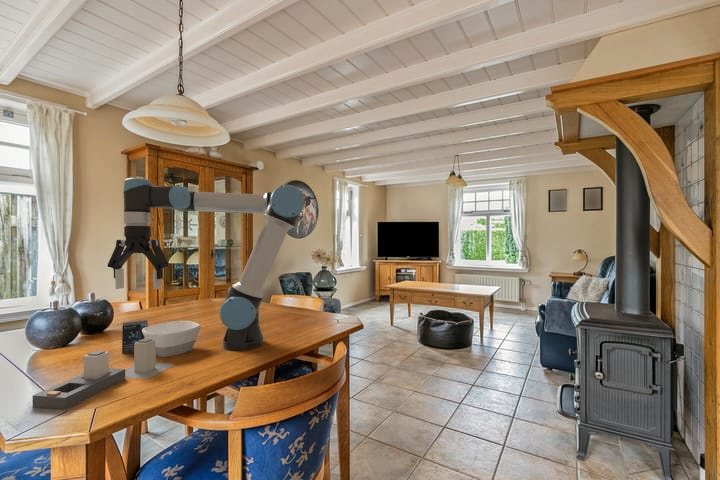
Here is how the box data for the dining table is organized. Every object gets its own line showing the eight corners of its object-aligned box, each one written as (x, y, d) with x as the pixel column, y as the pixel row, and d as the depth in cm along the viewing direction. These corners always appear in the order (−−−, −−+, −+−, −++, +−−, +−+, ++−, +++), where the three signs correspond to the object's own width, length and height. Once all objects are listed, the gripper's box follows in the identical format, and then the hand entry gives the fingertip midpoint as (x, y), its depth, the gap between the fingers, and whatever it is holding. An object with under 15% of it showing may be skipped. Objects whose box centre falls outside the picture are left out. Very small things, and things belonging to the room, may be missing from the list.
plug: (109, 383, 97) (109, 350, 97) (96, 389, 93) (96, 355, 93) (96, 382, 98) (96, 349, 98) (83, 388, 94) (83, 354, 94)
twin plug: (155, 367, 109) (155, 338, 109) (146, 372, 105) (146, 342, 105) (144, 367, 109) (144, 337, 109) (134, 371, 105) (134, 341, 105)
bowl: (159, 364, 113) (159, 336, 113) (133, 354, 122) (133, 328, 122) (208, 349, 128) (208, 325, 128) (181, 341, 138) (181, 318, 137)
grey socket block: (125, 380, 100) (125, 367, 100) (64, 412, 82) (64, 395, 82) (98, 379, 101) (98, 365, 101) (32, 409, 83) (32, 393, 83)
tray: (175, 365, 112) (175, 363, 112) (147, 380, 100) (148, 378, 100) (142, 363, 114) (142, 361, 114) (111, 378, 102) (111, 376, 102)
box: (122, 355, 122) (122, 325, 121) (122, 350, 126) (122, 322, 126) (147, 351, 126) (147, 322, 126) (147, 347, 131) (147, 319, 130)
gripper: (179, 225, 116) (180, 287, 116) (112, 225, 119) (113, 286, 119) (164, 224, 109) (165, 290, 109) (93, 225, 111) (94, 289, 112)
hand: (138, 288), depth 114 cm, fingers open, 13 cm apart
